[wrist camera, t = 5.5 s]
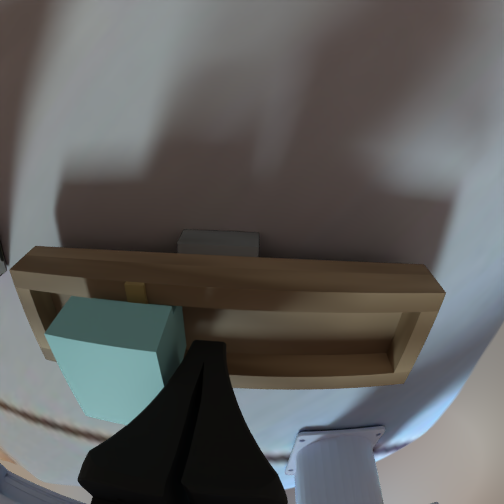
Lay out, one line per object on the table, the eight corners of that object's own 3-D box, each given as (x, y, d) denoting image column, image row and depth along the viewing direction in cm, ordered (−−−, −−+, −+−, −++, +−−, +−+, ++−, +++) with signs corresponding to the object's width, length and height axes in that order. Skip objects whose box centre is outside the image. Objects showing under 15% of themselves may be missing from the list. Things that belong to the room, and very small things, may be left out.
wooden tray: (382, 341, 19) (401, 391, 15) (74, 323, 19) (47, 367, 15) (414, 241, 15) (451, 286, 12) (47, 225, 15) (4, 262, 12)
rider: (192, 359, 16) (176, 433, 12) (114, 349, 16) (86, 415, 12) (183, 274, 13) (155, 352, 9) (92, 268, 13) (44, 334, 9)
